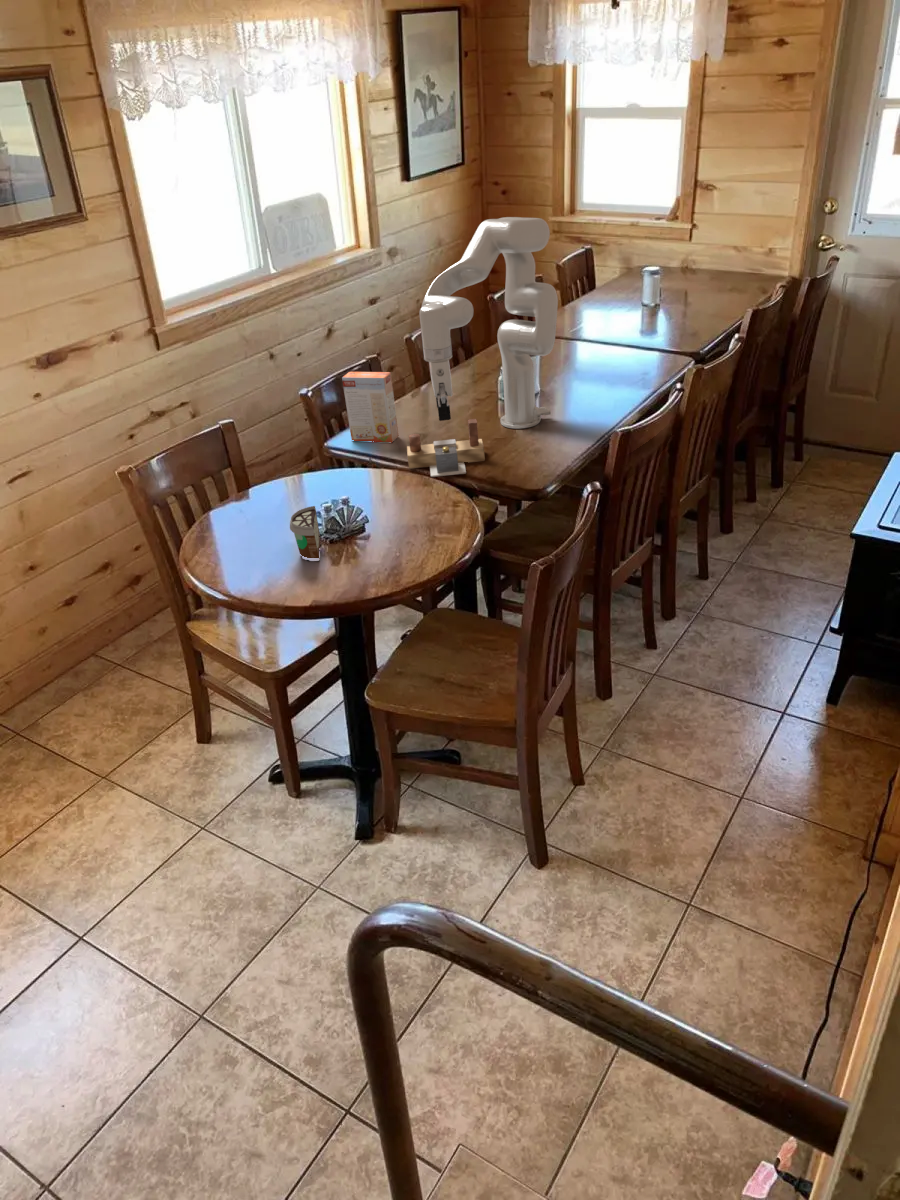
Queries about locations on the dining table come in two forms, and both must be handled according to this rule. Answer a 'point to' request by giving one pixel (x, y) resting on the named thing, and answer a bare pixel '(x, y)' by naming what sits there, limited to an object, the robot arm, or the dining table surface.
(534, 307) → the robot arm
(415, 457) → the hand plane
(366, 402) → the cracker box
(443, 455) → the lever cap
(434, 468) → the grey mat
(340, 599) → the dining table surface
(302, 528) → the lidded drink cup
